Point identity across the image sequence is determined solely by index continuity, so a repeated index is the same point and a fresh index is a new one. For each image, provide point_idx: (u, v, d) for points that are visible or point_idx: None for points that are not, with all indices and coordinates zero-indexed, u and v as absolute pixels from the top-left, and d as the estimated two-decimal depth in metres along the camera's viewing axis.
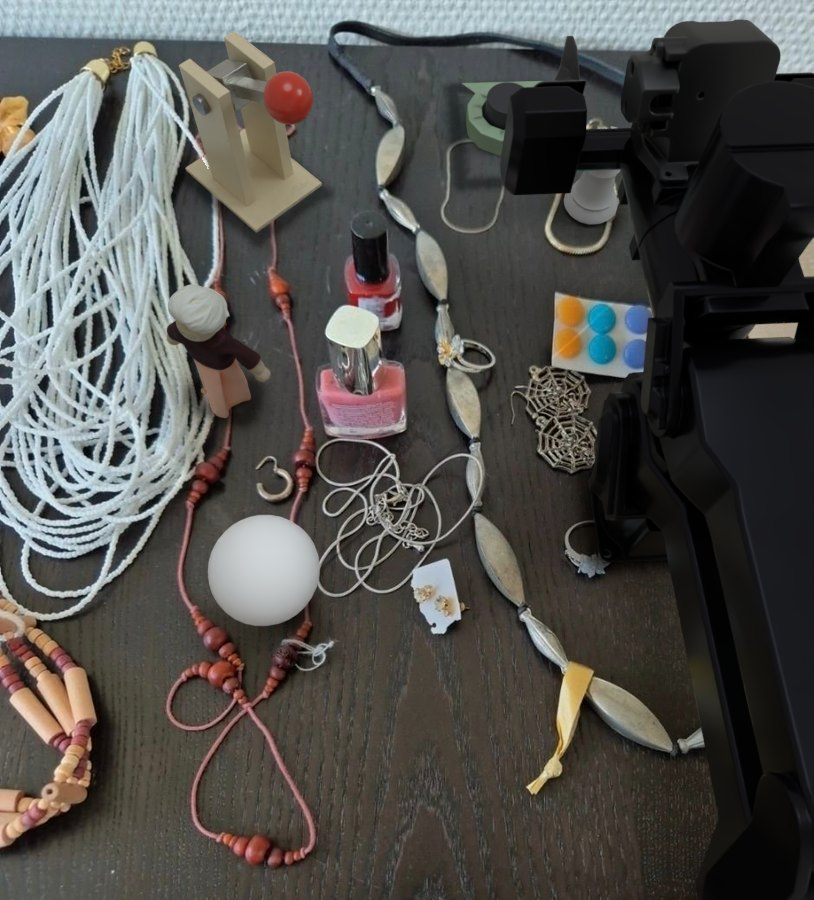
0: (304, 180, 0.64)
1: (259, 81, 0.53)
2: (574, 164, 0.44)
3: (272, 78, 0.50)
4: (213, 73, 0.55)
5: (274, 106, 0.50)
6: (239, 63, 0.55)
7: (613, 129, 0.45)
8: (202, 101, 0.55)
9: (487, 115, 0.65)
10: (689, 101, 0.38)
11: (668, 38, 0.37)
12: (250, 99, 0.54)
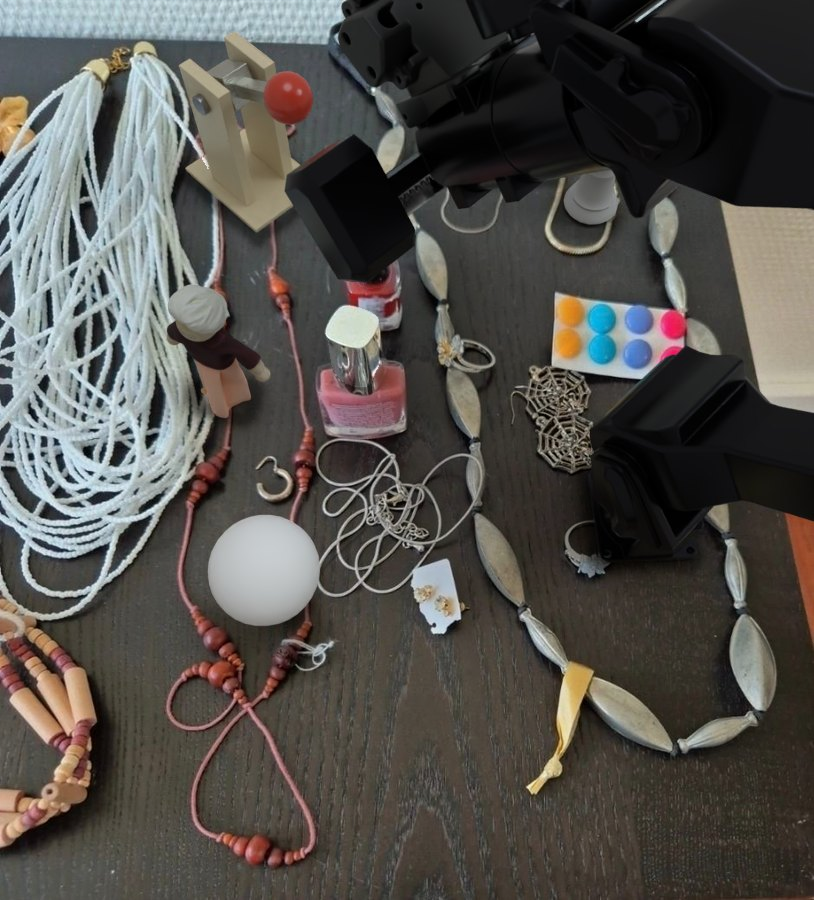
0: None
1: (259, 81, 0.53)
2: (390, 190, 0.38)
3: (272, 78, 0.50)
4: (213, 73, 0.55)
5: (274, 106, 0.50)
6: (239, 63, 0.55)
7: (401, 162, 0.41)
8: (202, 101, 0.55)
9: None
10: (414, 16, 0.35)
11: None
12: (250, 99, 0.54)
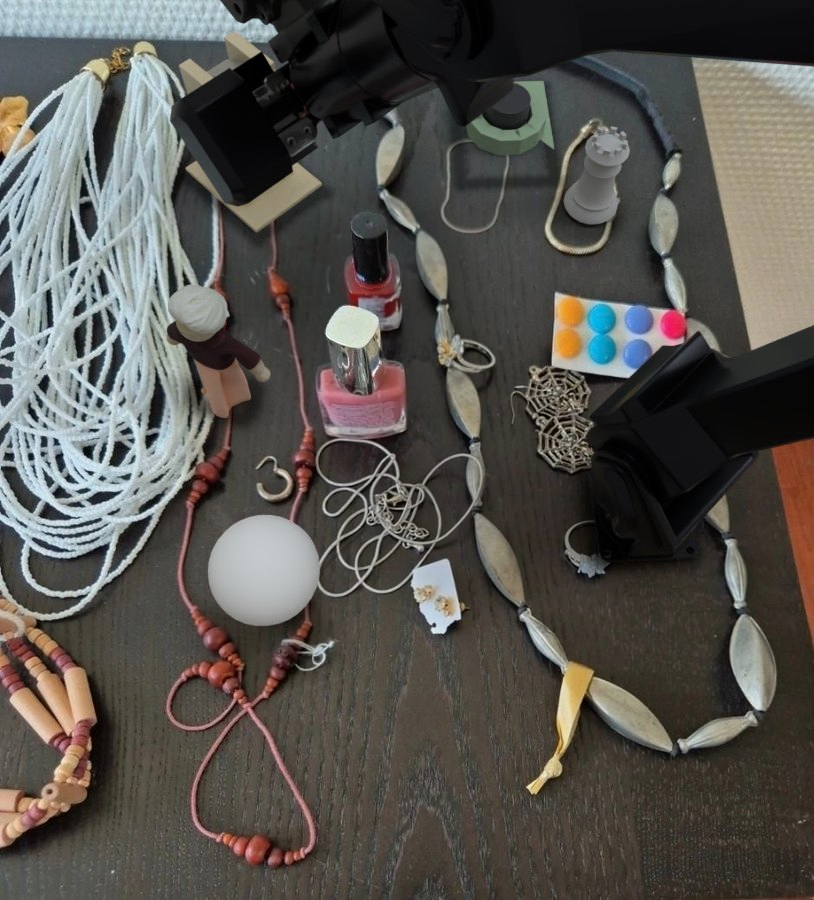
0: (304, 180, 0.64)
1: None
2: (263, 118, 0.43)
3: None
4: (213, 73, 0.55)
5: None
6: (239, 63, 0.55)
7: None
8: None
9: (487, 115, 0.65)
10: None
11: None
12: None
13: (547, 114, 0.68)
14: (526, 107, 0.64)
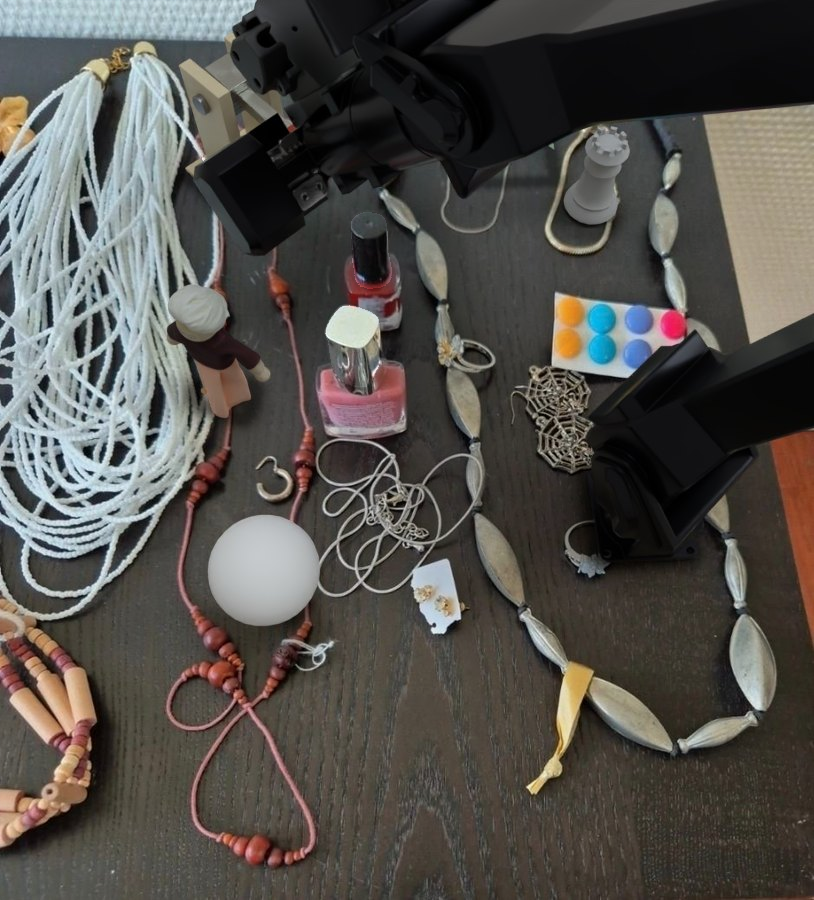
0: None
1: (269, 107, 0.55)
2: (279, 179, 0.46)
3: None
4: (217, 74, 0.55)
5: None
6: None
7: (294, 156, 0.49)
8: (202, 101, 0.55)
9: None
10: (290, 37, 0.43)
11: (240, 21, 0.44)
12: (255, 118, 0.56)
13: None
14: None
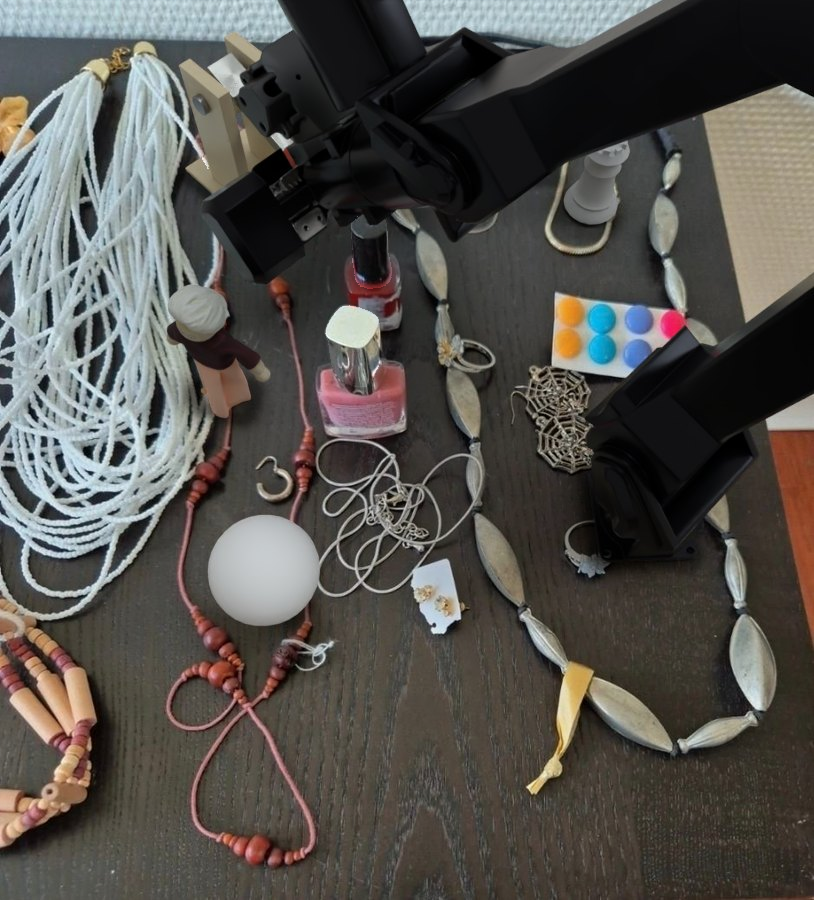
0: None
1: None
2: (282, 214, 0.50)
3: None
4: (220, 76, 0.55)
5: None
6: None
7: None
8: (202, 101, 0.55)
9: None
10: (294, 85, 0.46)
11: (247, 69, 0.47)
12: None
13: None
14: None
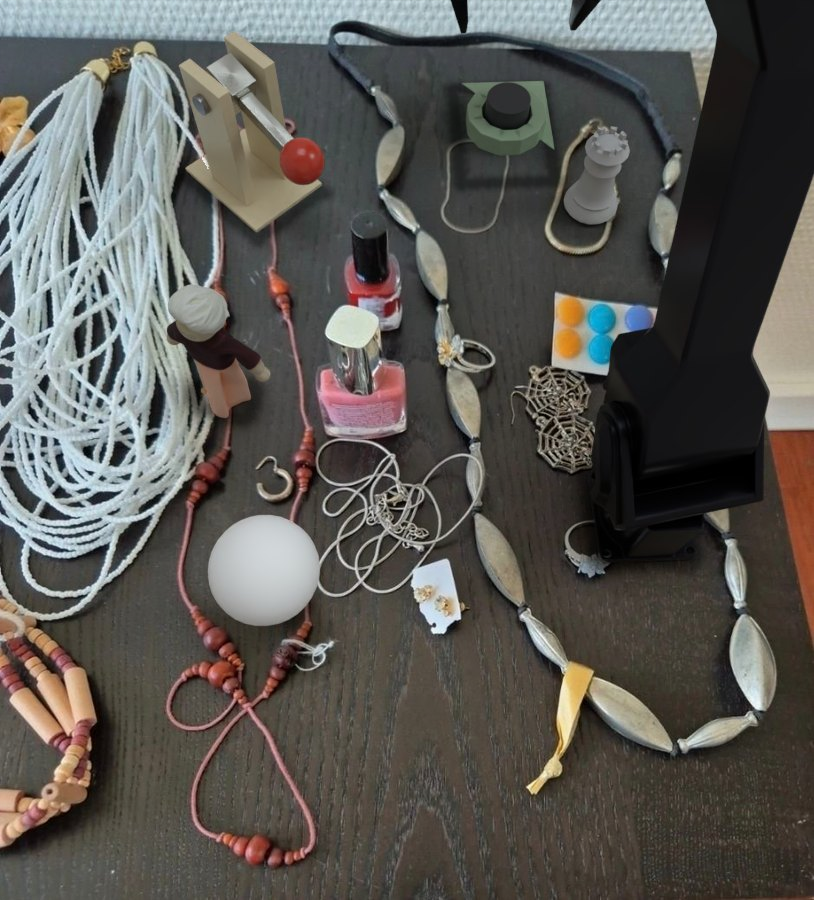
0: None
1: (270, 115, 0.56)
2: None
3: (296, 150, 0.54)
4: (220, 76, 0.55)
5: (292, 175, 0.55)
6: (248, 76, 0.55)
7: None
8: (202, 101, 0.55)
9: (487, 115, 0.65)
10: None
11: None
12: (255, 124, 0.56)
13: (547, 114, 0.68)
14: (526, 107, 0.64)
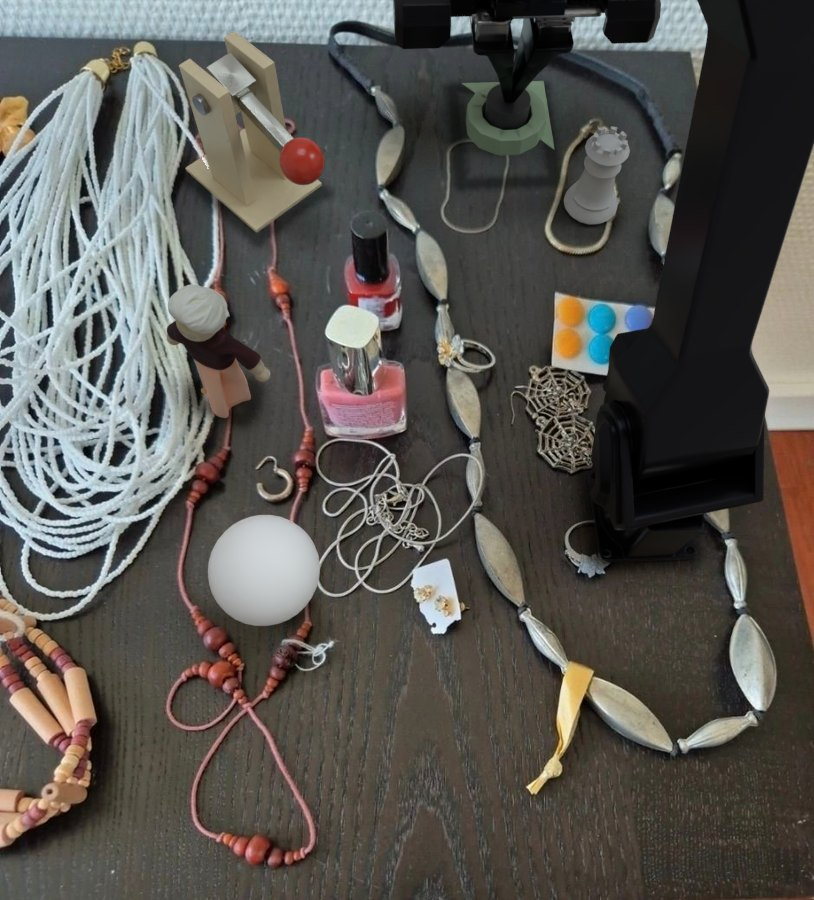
0: None
1: (270, 115, 0.56)
2: None
3: (296, 150, 0.54)
4: (220, 76, 0.55)
5: (292, 175, 0.55)
6: (248, 76, 0.55)
7: None
8: (202, 101, 0.55)
9: (487, 115, 0.65)
10: None
11: None
12: (255, 124, 0.56)
13: (547, 114, 0.68)
14: (526, 108, 0.64)
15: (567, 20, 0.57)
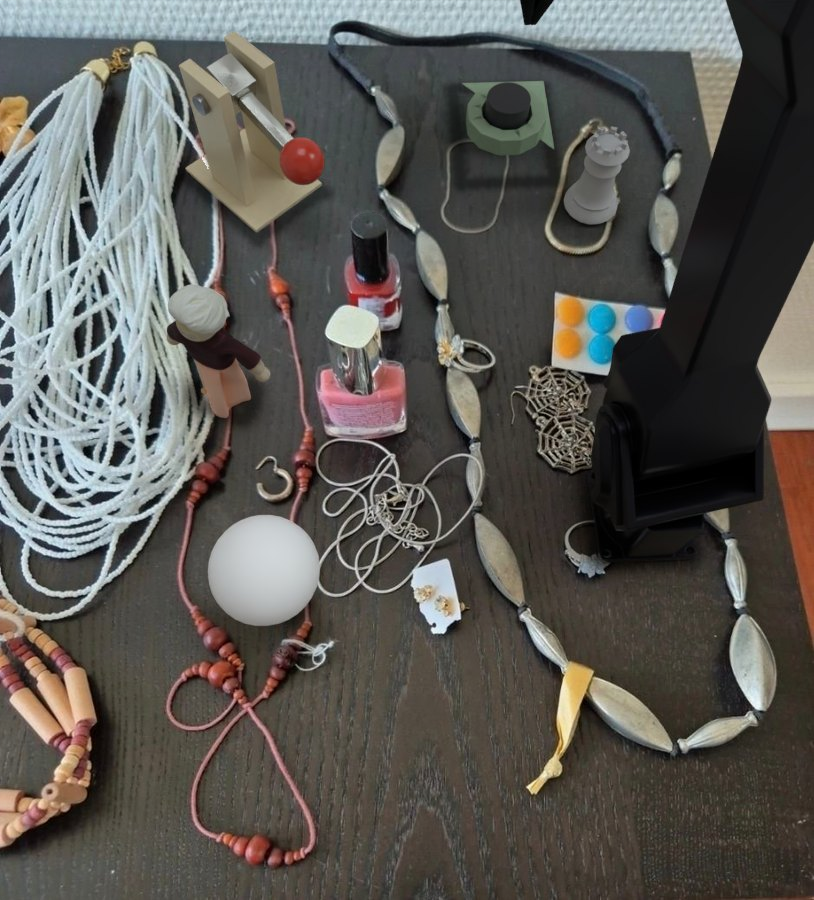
0: None
1: (270, 115, 0.56)
2: None
3: (296, 150, 0.54)
4: (220, 76, 0.55)
5: (292, 175, 0.55)
6: (248, 76, 0.55)
7: None
8: (202, 101, 0.55)
9: (487, 115, 0.65)
10: None
11: None
12: (255, 124, 0.56)
13: (547, 114, 0.68)
14: (526, 107, 0.64)
15: None
